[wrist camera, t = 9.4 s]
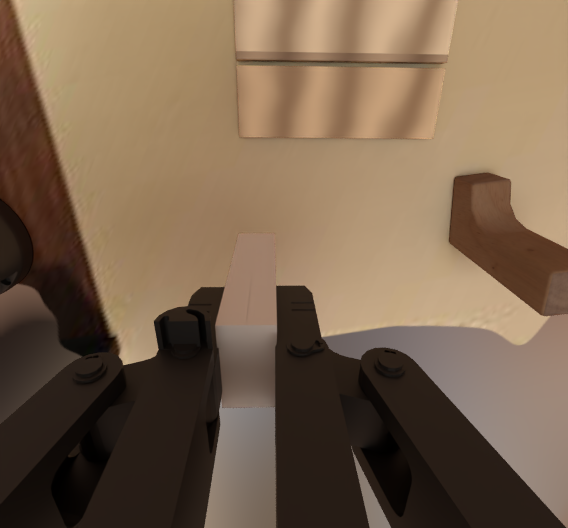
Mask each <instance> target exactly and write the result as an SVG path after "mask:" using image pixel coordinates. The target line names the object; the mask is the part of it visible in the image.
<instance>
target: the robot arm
mask: <svg viewBox="0 0 568 528" xmlns="http://www.w3.org/2000/svg"><path fill="white" fill-rule="evenodd" d="M32 257H33V251H32V244H31V241H30V238H29V235H28V233H27V230H26V229H25V227H24V225H23V223H22V222H21V220H20V219H19V218H18V216H17V215H16V214H15V213H14V212H13V211H12V210H11V209H10V208H9V207H8V206H7V205H6V204H5V203H4V202H3V201H1V200H0V294H2V293H4V292H5V291H7V290H9V289H10V288H12V287H13V286H15V285H16V284H18V283H19V282H20V281H21V280H22V279H23V278H24V277H25V276H26V275H27V273H28V271H29V269H30V267H31V264H32ZM154 326H155V331H156V337H157V343H158V348H159V350H158V352H157V355H156V356H155V357H153V358H151V359H148V360H144V361H141V362H136V363H132V364H128V365H123V363H122V360H121V359H120V358H119V357H118V356H117V355H115V354H112V353H95V354H90V355H86V356H84V357H82V358H79V359H77V360H75V361H73V362H72V363H71V364H69V365H68V366H66V367H65V368H64V369H63V370H61V371H60V372H59V373H58V374H57V375H56V376H55V377H53V378H52V379H51V380H50V381H49V382H48V383H47V384H46V385H44V386H43V387H42V388H41V389H40V390H39V391H38V392H36V393H35V394H34V395H33V396H32V397H31V398H30V399H29V400H27V401H26V402H25V403H24V404H23V405H22V406H21V407H19V408H18V409H17V410H16V411H15V412H14V413H13V414H12V415H10V416H9V417H8V418H7V419H6V420H5V421H4V422H2V423H1V424H0V528H204V525H205V519H206V512H207V506H208V499H209V493H210V487H211V481H212V474H213V468H214V461H215V455H216V448H217V442H218V436H219V430H220V416H219V408H220V402H221V399H222V408H252V407H275V429H276V430H275V444H276V528H369V523H368V519H367V515H366V510H365V506H364V501H363V497H362V493H361V488H360V484H359V479H358V475H357V471H356V466H355V462H354V457H353V453H352V450H353V452H354V454H355V456H356V458H357V460H358V462H359V464H360V466H361V468H362V470H363V472H364V474H365V476H366V478H367V480H368V482H369V484H370V486H371V488H372V490H373V492H374V494H375V496H376V498H377V500H378V502H379V504H380V506H381V508H382V510H383V512H384V514H385V516H386V518H387V520H388V522H389V524H390V526H391V528H566V527H565V526H564V525H563V524H562V523H561V522H560V520H558V518H557V517H556V516H555V515H554V514H553V513H552V512H551V511H550V509H549V508H548V507H547V506H546V505H545V504H544V503H543V502H542V501H541V500H540V498H539V497H538V496H537V495H536V494H535V493H534V492H533V491H532V490H531V489H530V487H529V486H528V485H527V484H526V483H525V482H524V481H523V480H522V479H521V478H520V476H519V475H518V474H517V473H516V472H515V471H514V470H513V469H512V468H511V467H510V465H509V464H508V463H507V462H506V461H505V460H504V459H503V458H502V457H501V456H500V454H498V452H497V451H496V450H495V449H494V448H493V447H492V446H491V445H490V444H489V442H488V441H487V440H486V439H485V438H484V437H483V436H482V435H481V434H480V433H479V431H478V430H477V429H476V428H475V427H474V426H473V425H472V424H471V423H470V422H469V420H468V419H467V418H466V417H465V416H464V415H463V414H462V413H461V412H460V410H459V409H458V408H457V407H456V406H455V405H454V404H453V403H452V402H451V401H450V400H449V398H448V397H446V395H445V394H444V393H443V392H442V391H441V390H440V389H439V388H438V386H437V385H436V384H435V383H434V382H433V381H432V380H431V379H430V378H429V377H428V375H427V374H426V373H425V372H424V371H423V370H422V369H421V368H420V367H419V365H418V364H417V363H416V362H415V361H414V360H413V359H411V358H410V357H409V356H407V355H406V354H404V353H402V352H400V351H398V350H395V349H390V348H374V349H371V350H369V351H367V352H366V353H365V354H364V355H363V356H362V358H361V360H358V359H354V358H349V357H345V356H342V355H339V354H337V353H335V352H333V351H332V350H330V349H329V347H328V345H327V344H326V342H325V341H324V340H323V339H322V338H321V333H320V328H319V323H318V319H317V314H316V311H315V305H314V300H313V295H312V293H311V292H310V291H309V290H308V289H307V288H306V287H305V286H276V263H275V233H239V234H238V238H237V241H236V245H235V249H234V253H233V257H232V261H231V265H230V269H229V273H228V277H227V281H226V285H225V287H201V288H200V289H199V290H198V291H196V292H195V293H194V294H193V295H192V296H191V299H190V301H189V304H188V306H186V307H177V308H174V309H171V310H168V311H166V312H164V313H162V314H161V315H159V316H158V317H157V318H156V319H155V321H154ZM351 446H352V449H351Z"/></svg>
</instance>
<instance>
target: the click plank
mask: <svg viewBox="0 0 568 528" xmlns="http://www.w3.org/2000/svg"><path fill="white" fill-rule="evenodd" d="M236 66H237V90H238V115H239V137H284V138H406V139H433V136H434V131H435V125H436V120H437V114H438V108H439V103H440V97H441V91H442V86H443V80H444V75H445V69H446V68H382V67H316V66H249V65H236Z"/></svg>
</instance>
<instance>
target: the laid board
mask: <svg viewBox="0 0 568 528" xmlns="http://www.w3.org/2000/svg"><path fill="white" fill-rule="evenodd" d="M457 4H458V0H234V18H235V43H236V59H237V61H281V62H346V63H410V64H442V63H446V62H447V60H448V54H449V48H450V42H451V37H452V31H453V26H454V20H455V15H456V9H457Z"/></svg>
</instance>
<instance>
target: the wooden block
mask: <svg viewBox="0 0 568 528" xmlns="http://www.w3.org/2000/svg"><path fill="white" fill-rule="evenodd" d="M510 197H511V181H510V179H506V178H503V177H500V176H497V175H494V174H491V173H483V174H475V175H468V176H460V177H457V178H455V183H454V194H453V206H452V217H451V229H450V240H449V241H450V244H451V245H453V246H454V247H455V248H457V249H458V250H459V251H460V252H462V253H463V254H464V255H465V256H467V257H468V258H469V259H470V260H472V261H473V262H474V263H476V264H477V265H478V266H479V267H481V268H482V269H483V270H484V271H486V272H487V273H488V274H490V275H491V276H492V277H493V278H495V279H496V280H497V281H498V282H500V283H501V284H502V285H504V286H505V287H506V288H507V289H509V290H510V291H511V292H512V293H514V294H515V295H516V296H517V297H519V298H520V299H521V300H523V301H524V302H525V303H526V304H528V305H529V306H530V307H531V308H533V309H534V310H535V311H537V312H538V313H539V314H540V315H543V316H552V315H560V314H568V249H567V248H565V247H563V246H561V245H559V244H557V243H555V242H553V241H551V240H548V239H546V238H544V237H542V236H540V235H538V234H536V233H534V232H532V231H530V230H528V229H526V228H525V227H524V226H523V225H522V224H521V223H520V222H519V221H518V220H517V219H516V218H515V215H514V213H513V210H512V207H511V205H510Z"/></svg>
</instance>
